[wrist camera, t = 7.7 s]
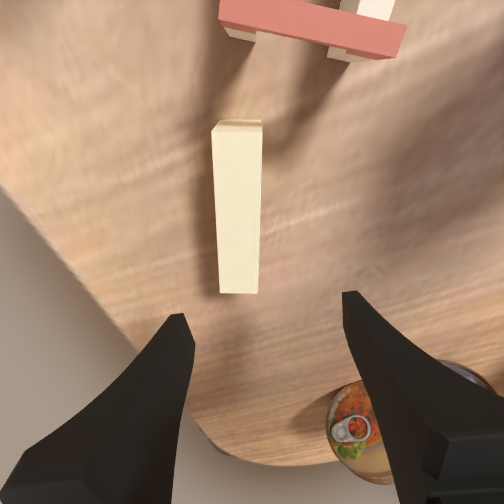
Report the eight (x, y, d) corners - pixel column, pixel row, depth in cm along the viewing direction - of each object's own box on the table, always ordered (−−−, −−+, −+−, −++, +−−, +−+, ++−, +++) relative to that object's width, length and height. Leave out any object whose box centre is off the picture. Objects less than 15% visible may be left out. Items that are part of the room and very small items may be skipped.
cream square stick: (261, 119, 18) (263, 132, 15) (257, 257, 24) (258, 293, 20) (219, 119, 18) (210, 131, 15) (224, 256, 24) (219, 293, 20)
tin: (465, 348, 29) (536, 441, 21) (469, 367, 30) (537, 461, 23) (317, 392, 32) (335, 484, 25) (327, 407, 34) (347, 499, 26)
